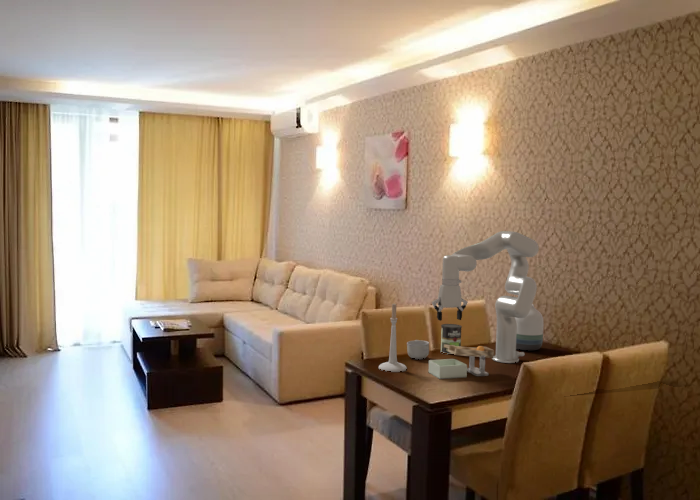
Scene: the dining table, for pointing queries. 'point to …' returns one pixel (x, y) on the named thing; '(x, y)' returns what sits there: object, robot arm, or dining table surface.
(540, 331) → the vase
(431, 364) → the pale green open box
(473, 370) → the lever stand
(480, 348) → the ball
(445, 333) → the coffee can
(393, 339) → the candlestick
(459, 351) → the lever
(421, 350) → the teacup
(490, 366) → the dining table surface
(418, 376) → the dining table surface
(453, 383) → the dining table surface
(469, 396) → the dining table surface
